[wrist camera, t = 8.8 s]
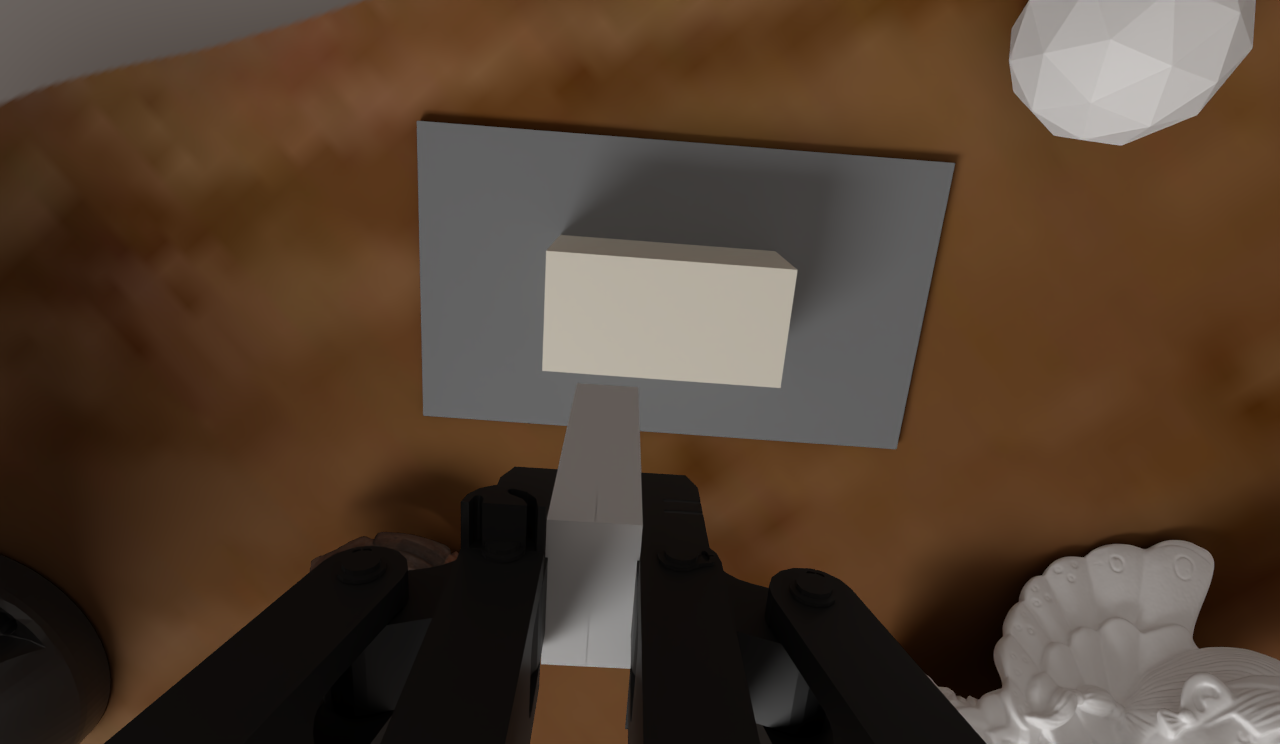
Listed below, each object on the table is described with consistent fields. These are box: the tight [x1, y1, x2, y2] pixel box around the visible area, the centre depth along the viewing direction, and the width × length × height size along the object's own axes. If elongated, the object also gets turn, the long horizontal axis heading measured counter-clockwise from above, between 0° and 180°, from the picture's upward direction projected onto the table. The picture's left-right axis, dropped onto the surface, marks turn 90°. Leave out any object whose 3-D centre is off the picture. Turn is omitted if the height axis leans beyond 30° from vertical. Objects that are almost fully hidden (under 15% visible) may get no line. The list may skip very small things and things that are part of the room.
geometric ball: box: [1009, 0, 1256, 146], centre depth 27 cm, size 8×8×8 cm
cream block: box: [542, 235, 797, 388], centre depth 31 cm, size 5×5×10 cm
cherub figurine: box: [927, 540, 1280, 744], centre depth 35 cm, size 13×12×20 cm
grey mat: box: [417, 121, 955, 449], centre depth 34 cm, size 24×14×1 cm, turn 86°
